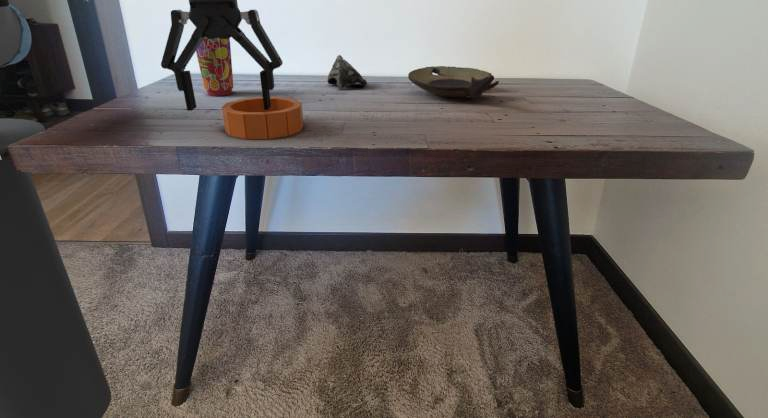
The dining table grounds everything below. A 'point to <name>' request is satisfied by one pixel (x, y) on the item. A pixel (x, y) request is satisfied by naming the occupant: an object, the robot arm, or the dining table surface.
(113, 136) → the dining table surface
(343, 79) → the fossil
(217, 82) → the smoothie
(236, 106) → the ring
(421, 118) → the dining table surface
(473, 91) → the broken bowl
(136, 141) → the dining table surface
